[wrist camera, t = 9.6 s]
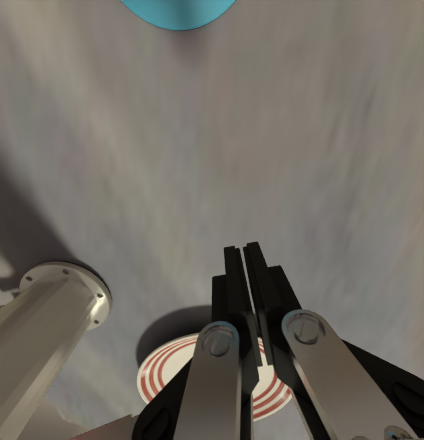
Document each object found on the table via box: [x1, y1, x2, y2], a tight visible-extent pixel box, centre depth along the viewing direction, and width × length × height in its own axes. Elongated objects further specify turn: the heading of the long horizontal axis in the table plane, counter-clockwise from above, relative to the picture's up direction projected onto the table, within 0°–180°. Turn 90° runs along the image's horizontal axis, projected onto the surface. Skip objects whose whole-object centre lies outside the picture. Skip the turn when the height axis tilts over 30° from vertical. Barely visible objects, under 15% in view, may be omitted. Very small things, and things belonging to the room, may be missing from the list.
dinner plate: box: [137, 332, 292, 422], centre depth 36 cm, size 28×27×3 cm
